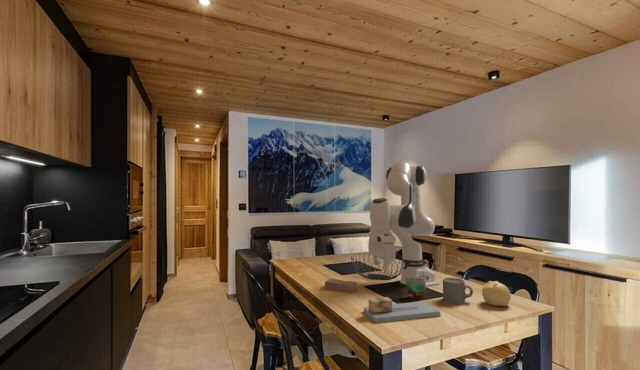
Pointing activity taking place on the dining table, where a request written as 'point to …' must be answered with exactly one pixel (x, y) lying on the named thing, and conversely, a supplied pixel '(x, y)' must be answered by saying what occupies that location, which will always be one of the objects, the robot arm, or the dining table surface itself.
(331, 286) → the brick
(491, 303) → the pale yellow rounded lump
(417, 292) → the food container
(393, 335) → the dining table surface
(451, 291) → the coffee mug
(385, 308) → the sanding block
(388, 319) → the board
